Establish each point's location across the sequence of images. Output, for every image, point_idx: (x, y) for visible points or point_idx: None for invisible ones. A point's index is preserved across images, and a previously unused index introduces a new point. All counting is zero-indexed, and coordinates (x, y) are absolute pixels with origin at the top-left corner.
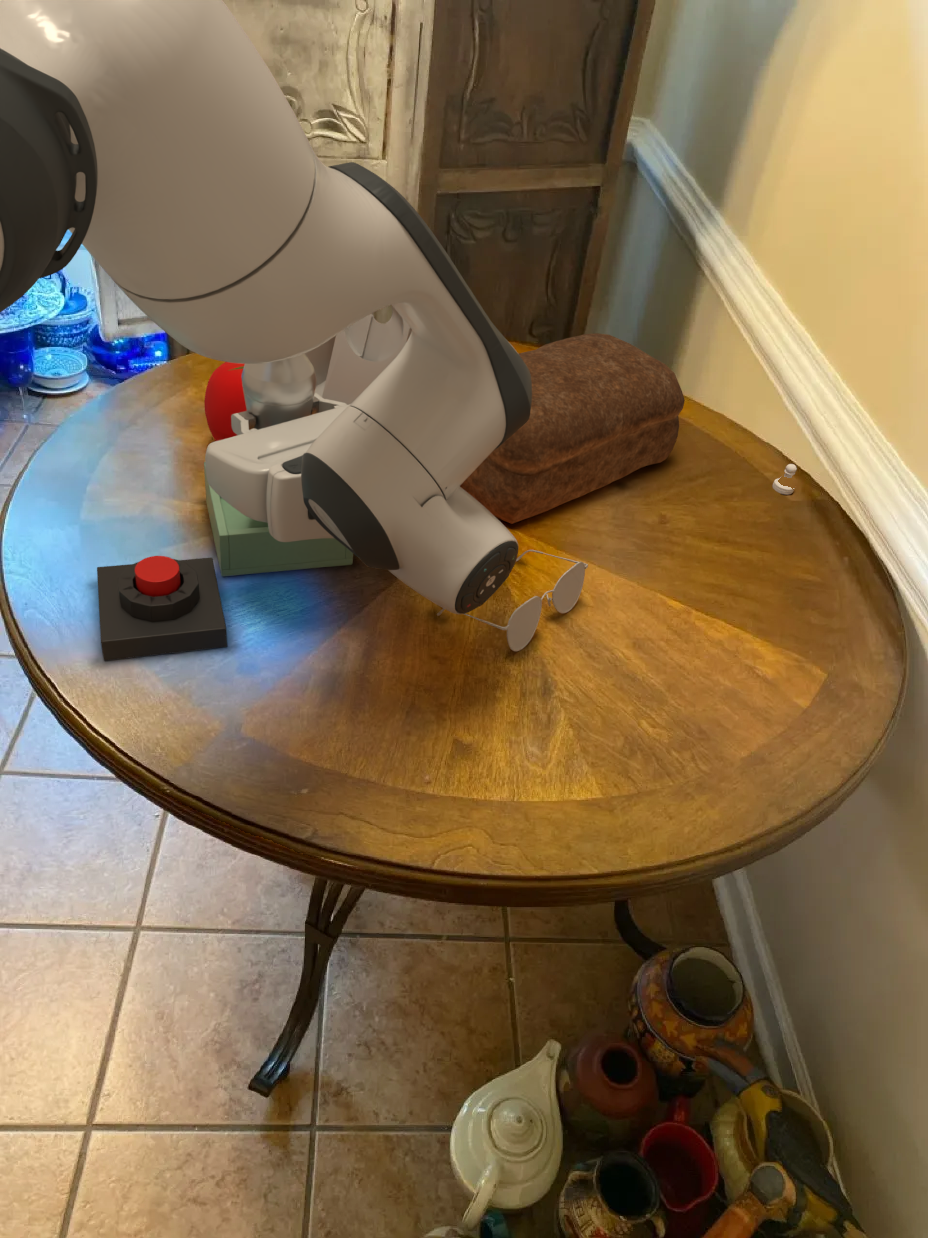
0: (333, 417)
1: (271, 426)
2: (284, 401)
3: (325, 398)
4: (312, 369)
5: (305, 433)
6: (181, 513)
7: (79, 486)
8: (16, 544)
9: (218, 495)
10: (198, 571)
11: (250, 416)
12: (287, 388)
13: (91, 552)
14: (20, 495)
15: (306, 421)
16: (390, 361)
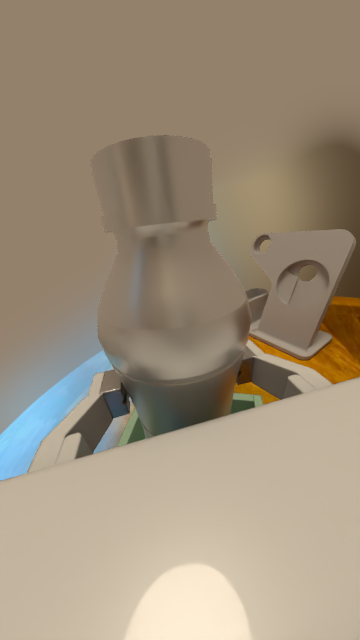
0: (305, 454)
1: (86, 462)
2: (153, 376)
3: (259, 329)
4: (241, 296)
5: (162, 602)
6: (127, 422)
7: (90, 380)
8: (6, 432)
9: (126, 442)
10: None
11: (115, 384)
12: (154, 345)
13: (31, 461)
14: (58, 382)
15: (201, 462)
16: (314, 306)
